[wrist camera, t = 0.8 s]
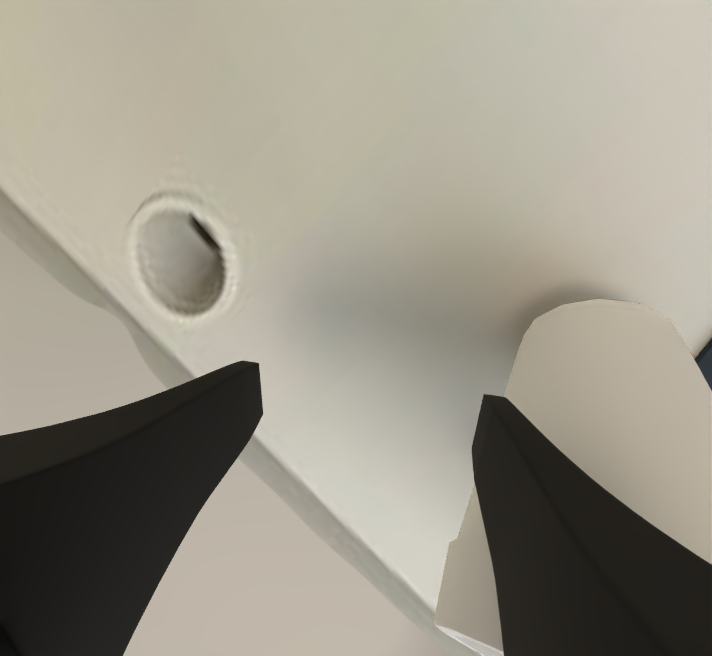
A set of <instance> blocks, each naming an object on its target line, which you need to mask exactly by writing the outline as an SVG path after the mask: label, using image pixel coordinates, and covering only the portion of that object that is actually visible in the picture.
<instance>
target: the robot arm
mask: <svg viewBox="0 0 712 656" xmlns="http://www.w3.org/2000/svg"><path fill="white" fill-rule="evenodd" d="M262 415H263V407H262V395H261V383H260V372H259V363H255V362H248V361H239V362H236V363H233V364H230V365H228V366H225V367H223V368H220V369H218V370H215V371H213V372H211V373H208V374H206V375H203V376H201V377H199V378H196V379H194V380H191V381H189V382H187V383H184V384H182V385H179V386H177V387H174V388H172V389H169V390H166V391H164V392H161V393H159V394H156V395H153V396H151V397H148V398H145V399H143V400H140V401H137V402H134V403H131V404H128V405H125V406H122V407H119V408H115V409H112V410H109V411H106V412H102V413H98V414H95V415H91V416H87V417H83V418H79V419H75V420H72V421H67V422H64V423H59V424H55V425H52V426H47V427H42V428H37V429H33V430H28V431H23V432H18V433H13V434H7V435H2V436H0V656H123V654H124V652H125V650H126V648H127V645H128V643H129V641H130V639H131V637H132V635H133V633H134V631H135V629H136V627H137V625H138V623H139V621H140V619H141V617H142V615H143V613H144V611H145V609H146V607H147V605H148V603H149V601H150V600H151V598H152V595H153V594H154V592H155V590H156V588H157V586H158V584H159V582H160V580H161V578H162V576H163V575H164V573H165V571H166V569H167V568H168V566H169V564H170V562H171V560H172V558H173V557H174V555H175V553H176V551H177V549H178V547H179V546H180V544H181V542H182V540H183V539H184V537H185V535H186V533H187V532H188V530H189V528H190V527H191V525H192V523H193V521H194V520H195V518H196V516H197V515H198V513H199V511H200V510H201V508H202V507H203V505H204V504H205V502H206V501H207V499H208V498H209V496H210V495H211V494H212V492H213V491H214V489H215V488H216V487H217V485H218V484H219V482H220V481H221V479H222V478H223V477H224V475H225V474H226V473H227V471H228V470H229V468H230V467H231V466H232V464H233V463H234V462H235V460H236V459H237V457H238V456H239V454H240V453H241V452H242V450H243V449H244V447H245V446H246V444H247V443H248V441H249V440H250V438H251V436H252V434H253V433H254V431H255V429H256V427H257V425H258V423H259V421H260V419H261V417H262ZM472 459H473V471H474V481H475V486H476V491H477V495H478V500H479V505H480V510H481V514H482V519H483V523H484V528H485V533H486V537H487V542H488V546H489V551H490V556H491V560H492V566H493V571H494V577H495V584H496V592H497V600H498V608H499V616H500V624H501V633H502V643H503V652H504V656H712V564H710V563H709V562H707V561H705V560H704V559H702V558H701V557H699V556H698V555H696V554H695V553H693V552H692V551H690V550H689V549H687V548H686V547H684V546H683V545H681V544H680V543H678V542H677V541H675V540H674V539H673V538H671V537H670V536H668V535H667V534H665V533H664V532H662V531H661V530H659V529H658V528H656V527H655V526H654V525H652V524H651V523H649V522H648V521H647V520H645V519H644V518H642V517H641V516H640V515H638V514H637V513H635V512H634V511H633V510H631V509H630V508H629V507H628V506H626V505H625V504H624V503H622V502H621V501H620V500H618V499H617V498H616V497H615V496H613V495H612V494H611V493H609V492H608V491H607V490H605V489H604V488H603V487H602V486H600V485H599V484H598V483H597V482H596V481H594V480H593V479H592V478H591V477H590V476H588V475H587V474H586V473H585V472H584V471H583V470H581V469H580V468H579V467H578V466H577V465H576V464H575V463H573V462H572V461H571V460H570V459H569V458H568V457H567V456H566V455H564V454H563V453H562V452H561V451H560V450H559V449H558V448H557V447H556V446H555V445H554V444H553V443H552V442H551V441H549V440H548V439H547V438H546V437H545V436H544V435H543V434H542V433H541V432H540V431H539V430H538V429H537V428H536V427H535V426H534V425H533V424H532V423H531V422H530V421H529V420H528V419H527V418H526V417H525V416H524V415H523V414H522V413H521V412H520V411H519V410H518V409H517V408H516V407H515V406H514V405H513V404H512V403H511V402H510V401H509V400H508V399H507V398H506V397H501V396H494V395H486V394H484V396H483V400H482V405H481V409H480V414H479V418H478V422H477V427H476V431H475V436H474V440H473V445H472Z"/></svg>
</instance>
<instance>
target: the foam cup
mask: <svg viewBox="0 0 712 656" xmlns="http://www.w3.org/2000/svg"><path fill="white" fill-rule="evenodd" d="M503 397H506V398H507V399H508V400H509V401H510V402H511V403H512V404H513V405H514V406H515V407H516V408H517V409H518V410H519V411H520V412H521V413H522V414H523V415H524V416H525V417H526V418H527V419H528V420H529V421H530V422H531V423H532V424H533V425H534V426H535V427H536V428H537V429H538V430H539V431H540V432H541V433H542V434H543V435H544V436H545V437H546V438H547V439H548V440H549V441H551V442H552V443H553V444H554V445H555V446H556V447H557V448H558V449H559V450H560V451H561V452H562V453H563V454H564V455H566V456H567V457H568V458H569V459H570V460H571V461H572V462H573V463H575V464H576V465H577V466H578V467H579V468H580V469H581V470H583V471H584V472H585V473H586V474H587V475H588V476H590V477H591V478H592V479H593V480H594V481H596V482H597V483H598V484H599V485H600V486H602V487H603V488H604V489H605V490H607V491H608V492H609V493H611V494H612V495H613V496H615V497H616V498H617V499H618V500H620V501H621V502H622V503H624V504H625V505H626V506H628V507H629V508H630V509H631V510H633V511H634V512H635V513H637V514H638V515H640V516H641V517H642V518H644V519H645V520H647V521H648V522H649V523H651V524H652V525H654V526H655V527H656V528H658V529H659V530H661V531H662V532H664V533H665V534H667V535H668V536H670V537H671V538H673V539H674V540H675V541H677V542H678V543H680V544H681V545H683V546H684V547H686V548H687V549H689V550H690V551H692V552H693V553H695V554H696V555H698V556H699V557H701V558H702V559H704V560H705V561H707V562H709V563H710V564H712V391H711V389H710V387H709V385H708V383H707V382H706V380H705V378H704V376H703V374H702V372H701V371H700V369H699V367H698V365H697V363H696V361H695V360H694V358H693V356H692V354H691V352H690V351H689V349H688V347H687V346H686V344H685V342H684V341H683V339H682V337H681V336H680V334H679V332H678V331H677V329H676V327H675V326H674V324H673V322H672V321H671V319H670V318H668V317H666V316H664V315H662V314H660V313H658V312H656V311H654V310H652V309H650V308H648V307H646V306H644V305H641V304H639V303H632V302H623V301H615V300H606V299H594V300H588V301H582V302H576V303H570V304H563V305H560V306H559V307H557V308H555V309H553V310H551V311H549V312H547V313H545V314H543V315H541V316H539V317H537V318H536V319H535V320H534V321H533V323H532V324H531V326H530V327H529V328H528V330H527V331H526V333H525V334H524V335H523V341H522V342H521V344H520V346H519V349H518V352H517V355H516V359H515V362H514V365H513V368H512V371H511V374H510V377H509V380H508V383H507V386H506V389H505V393H504V396H503ZM433 624H434V625H435V626H437V627H438V628H439V629H440V630H442V631H443V632H444V633H446V634H447V635H449V636H450V637H452V638H454V639H456V640H457V641H459V642H461V643H462V644H464V645H466V646H467V647H469V648H471V649H473V650H474V651H476V652H478V653H479V654H481V655H483V656H504V652H503V643H502V633H501V624H500V616H499V608H498V600H497V592H496V584H495V577H494V571H493V566H492V560H491V556H490V551H489V546H488V542H487V537H486V533H485V528H484V523H483V519H482V514H481V510H480V505H479V500H478V495H477V491H476V486H475V485H474V488H473V491H472V495H471V498H470V501H469V504H468V507H467V510H466V513H465V516H464V519H463V522H462V525H461V529H460V532H459V535H458V538H457V539H455V540H453V541H451V542H450V543H449V548H448V553H447V558H446V563H445V568H444V573H443V578H442V583H441V588H440V593H439V598H438V603H437V608H436V613H435V618H434V623H433Z"/></svg>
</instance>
